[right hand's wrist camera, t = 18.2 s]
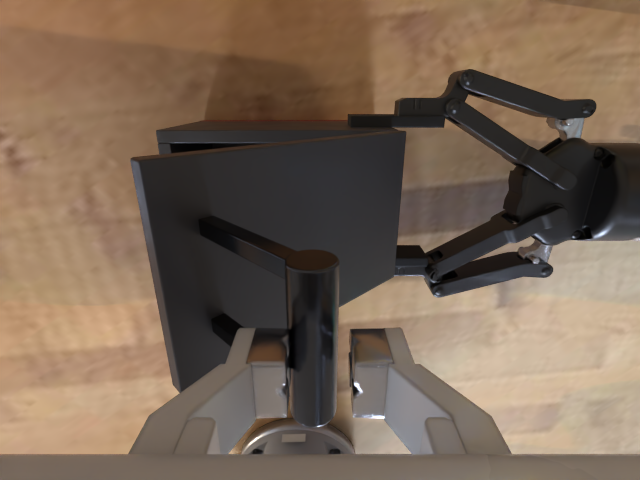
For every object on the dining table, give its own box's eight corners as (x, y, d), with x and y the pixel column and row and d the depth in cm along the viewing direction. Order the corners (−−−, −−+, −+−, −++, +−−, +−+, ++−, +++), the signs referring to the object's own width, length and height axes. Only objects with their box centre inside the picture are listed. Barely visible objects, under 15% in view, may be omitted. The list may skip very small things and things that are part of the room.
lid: (172, 385, 16) (281, 518, 11) (129, 157, 12) (262, 198, 7) (384, 272, 27) (491, 314, 21) (394, 130, 23) (526, 139, 18)
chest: (215, 225, 36) (178, 272, 27) (203, 120, 33) (155, 130, 23) (369, 225, 36) (388, 271, 27) (374, 120, 33) (399, 129, 23)
